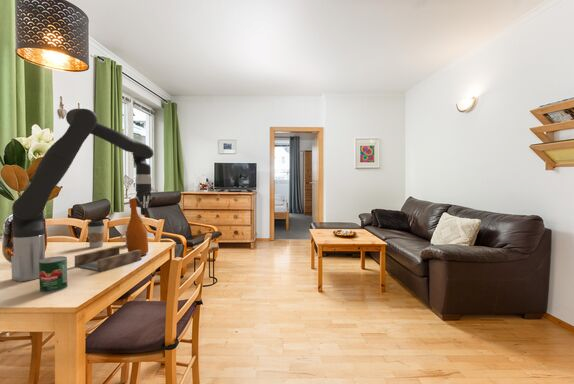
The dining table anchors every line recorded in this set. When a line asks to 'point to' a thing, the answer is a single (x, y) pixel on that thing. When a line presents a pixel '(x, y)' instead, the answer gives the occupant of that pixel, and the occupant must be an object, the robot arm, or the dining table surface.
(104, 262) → the u rest
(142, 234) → the wine bottle
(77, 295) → the dining table surface
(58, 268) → the canned tomato
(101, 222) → the coffee cup
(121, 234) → the teacup with lid
